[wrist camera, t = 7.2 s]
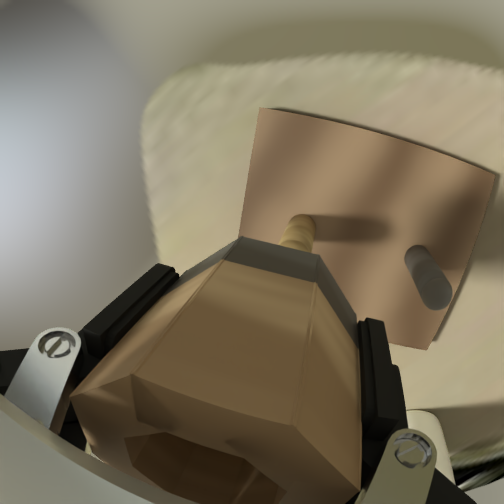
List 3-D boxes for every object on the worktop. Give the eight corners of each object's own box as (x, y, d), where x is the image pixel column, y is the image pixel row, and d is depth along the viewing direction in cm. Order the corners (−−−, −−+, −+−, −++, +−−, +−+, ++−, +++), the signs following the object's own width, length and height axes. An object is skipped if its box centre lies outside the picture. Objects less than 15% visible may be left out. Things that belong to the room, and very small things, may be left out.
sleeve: (374, 267, 9) (407, 442, 3) (321, 397, 11) (298, 540, 6) (189, 222, 10) (48, 331, 4) (180, 358, 12) (104, 477, 7)
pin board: (488, 172, 17) (543, 193, 10) (423, 341, 22) (442, 404, 16) (263, 108, 19) (230, 98, 13) (232, 295, 25) (198, 350, 18)
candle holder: (443, 391, 24) (466, 499, 13) (447, 442, 26) (458, 530, 15) (347, 419, 27) (338, 526, 16) (367, 463, 29) (362, 550, 19)
